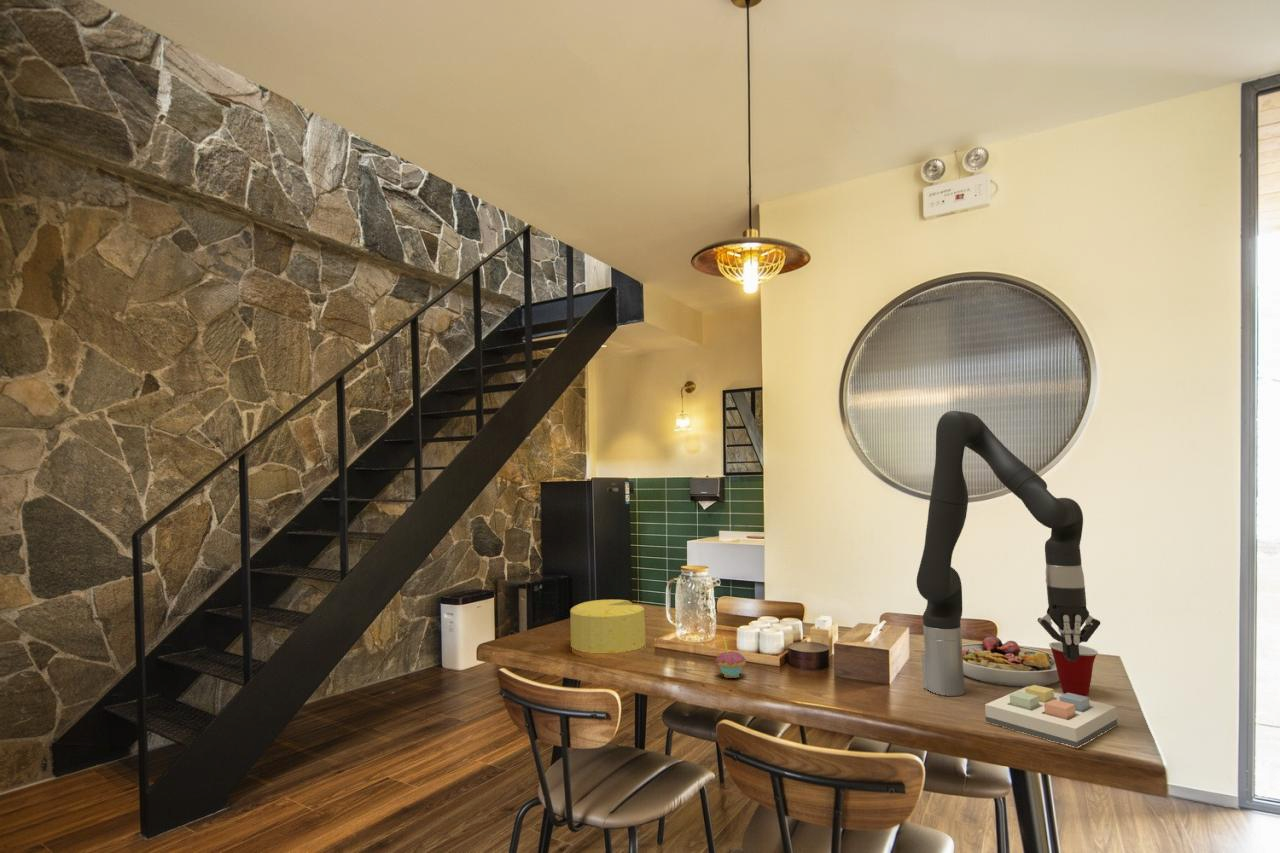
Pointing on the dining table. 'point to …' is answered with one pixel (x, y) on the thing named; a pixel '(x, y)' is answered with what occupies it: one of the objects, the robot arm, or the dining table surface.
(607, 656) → the dining table surface
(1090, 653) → the plastic cup
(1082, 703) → the key slate
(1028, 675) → the bowl
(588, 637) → the cheese
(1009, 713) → the keypad board
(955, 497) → the robot arm
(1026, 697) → the key sage
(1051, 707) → the key terracotta
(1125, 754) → the dining table surface
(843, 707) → the dining table surface
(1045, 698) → the key mustard
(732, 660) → the cupcake
